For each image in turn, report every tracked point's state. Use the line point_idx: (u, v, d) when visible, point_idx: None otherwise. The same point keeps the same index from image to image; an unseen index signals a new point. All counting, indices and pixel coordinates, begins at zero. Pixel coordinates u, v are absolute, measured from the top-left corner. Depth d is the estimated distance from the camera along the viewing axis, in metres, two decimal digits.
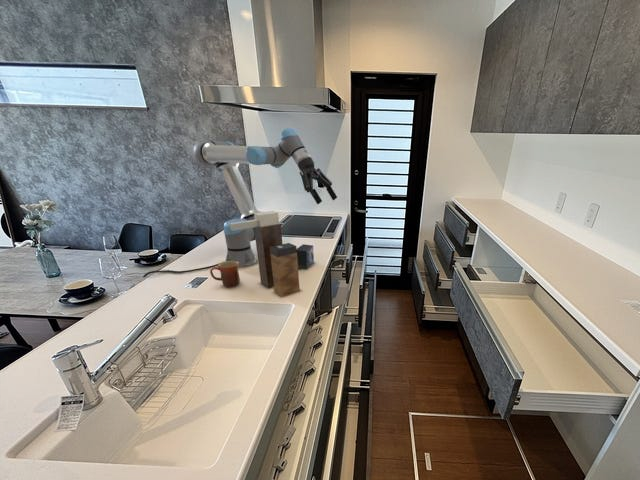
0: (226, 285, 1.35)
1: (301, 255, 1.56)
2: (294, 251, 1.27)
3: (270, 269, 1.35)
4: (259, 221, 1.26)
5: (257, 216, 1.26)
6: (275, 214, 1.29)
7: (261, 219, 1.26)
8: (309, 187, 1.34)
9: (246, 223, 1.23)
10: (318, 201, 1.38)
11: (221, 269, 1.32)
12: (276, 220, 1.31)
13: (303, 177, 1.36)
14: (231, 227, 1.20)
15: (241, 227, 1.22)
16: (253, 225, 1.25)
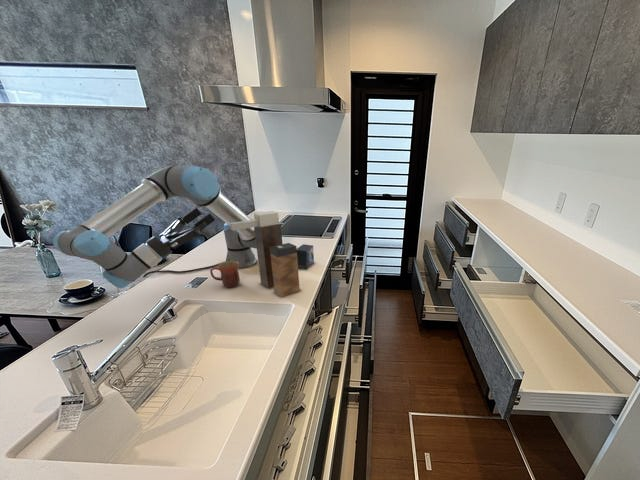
0: (226, 285, 1.35)
1: (301, 255, 1.56)
2: (294, 251, 1.27)
3: (270, 269, 1.35)
4: (259, 221, 1.26)
5: (257, 216, 1.26)
6: (275, 214, 1.29)
7: (261, 219, 1.26)
8: None
9: (246, 223, 1.23)
10: None
11: (221, 269, 1.32)
12: (276, 220, 1.31)
13: None
14: (231, 227, 1.20)
15: (241, 227, 1.22)
16: (253, 225, 1.25)
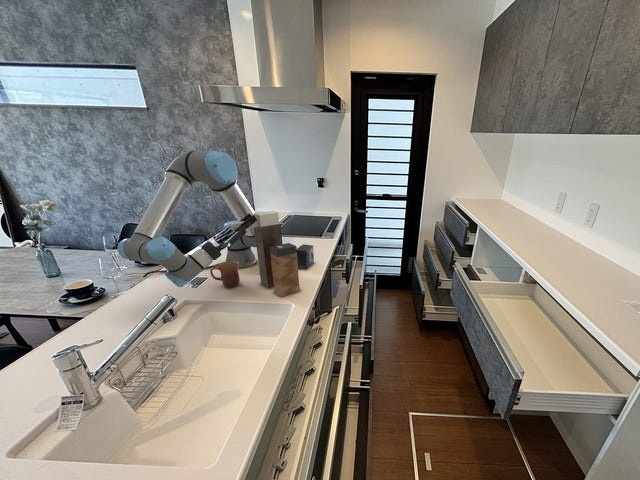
0: (226, 285, 1.35)
1: (301, 255, 1.56)
2: (294, 251, 1.27)
3: (270, 269, 1.35)
4: (259, 221, 1.26)
5: (257, 216, 1.26)
6: (275, 214, 1.29)
7: (261, 219, 1.26)
8: None
9: None
10: None
11: (221, 269, 1.32)
12: (276, 220, 1.31)
13: None
14: (231, 227, 1.20)
15: None
16: (253, 225, 1.25)
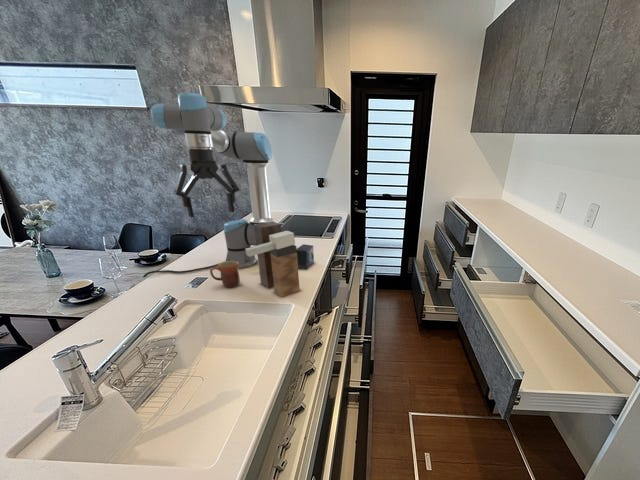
0: (226, 285, 1.35)
1: (301, 255, 1.56)
2: (294, 251, 1.27)
3: (270, 269, 1.35)
4: (275, 244, 1.21)
5: (273, 239, 1.21)
6: (291, 235, 1.24)
7: (277, 242, 1.21)
8: (178, 194, 0.97)
9: (262, 247, 1.18)
10: (189, 214, 1.02)
11: (221, 269, 1.32)
12: (292, 241, 1.25)
13: (180, 175, 0.97)
14: (247, 253, 1.16)
15: (257, 252, 1.17)
16: (269, 248, 1.20)
